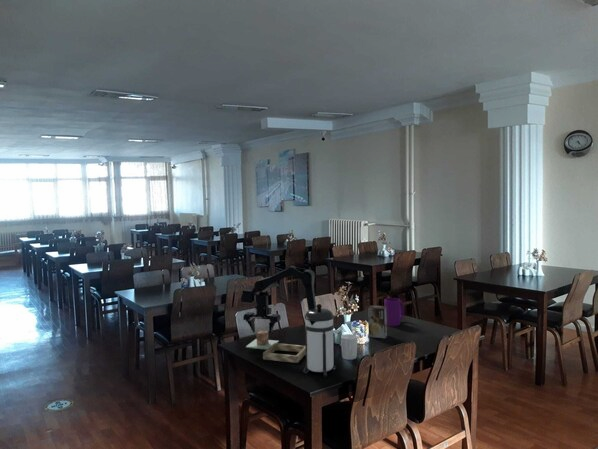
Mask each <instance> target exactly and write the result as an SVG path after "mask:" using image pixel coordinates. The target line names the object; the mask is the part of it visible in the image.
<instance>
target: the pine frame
mask: <svg viewBox="0 0 598 449" xmlns="http://www.w3.org/2000/svg"><path fill="white" fill-rule="evenodd" d="M276 351H284V352H295V353H297V354H296V355H294V354H284V353H275V352H276ZM304 356H306V345H299V344H289V343H279V342H278V343H274V344H273V345H272V346H271V347H269V348H268V349H267V350H266V349H265V351H263V352H262V359H263V360H265V361H276V362H277V361H278V362H284V363H285V362H287V363H295V364H298V363H300V361H301V360H302V359H303V357H304Z"/></svg>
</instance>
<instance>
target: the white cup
mask: <svg viewBox="0 0 598 449" xmlns="http://www.w3.org/2000/svg"><path fill="white" fill-rule="evenodd" d="M358 338H359V337H358V335H356V334H351V333H349V334H348V333H347V334H342V335H341V336H340V343H341V344H340V345H341V346H340V347H341V355H342V356H341V357H342V358H343V359H344V360H348V361H350V360H351V361H352V360H355V359H357V353H358Z"/></svg>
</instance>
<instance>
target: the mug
mask: <svg viewBox="0 0 598 449" xmlns="http://www.w3.org/2000/svg"><path fill="white" fill-rule="evenodd" d="M383 302H384V303H383V304H384V305H383V306H386V307H387V327H399V326H400V325H401V320H402V319H403V317H404V314H405V307H404V303H403V301H402V300H401V299H400V298H396V297H386V298H384V300H383Z"/></svg>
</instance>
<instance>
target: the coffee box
mask: <svg viewBox="0 0 598 449" xmlns="http://www.w3.org/2000/svg"><path fill="white" fill-rule="evenodd" d="M367 310H368V312H367V315H368V319H367V321H368V337H369V338H377V339H378V338H379V339H386V338H387V337H388V326H387V307H386V306H384V305H369V307H368V309H367Z"/></svg>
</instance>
